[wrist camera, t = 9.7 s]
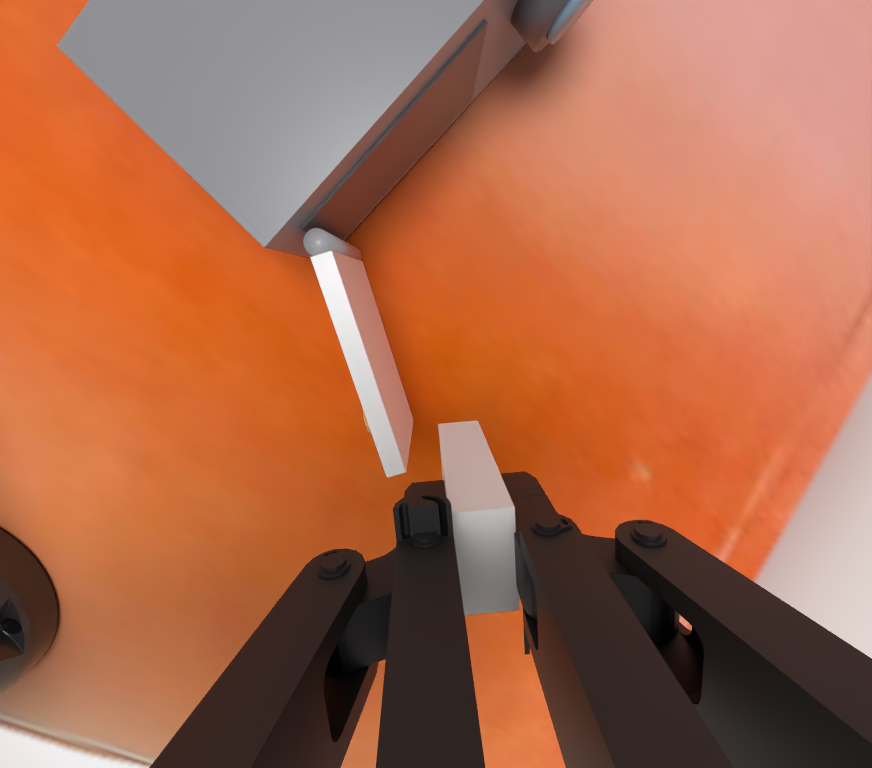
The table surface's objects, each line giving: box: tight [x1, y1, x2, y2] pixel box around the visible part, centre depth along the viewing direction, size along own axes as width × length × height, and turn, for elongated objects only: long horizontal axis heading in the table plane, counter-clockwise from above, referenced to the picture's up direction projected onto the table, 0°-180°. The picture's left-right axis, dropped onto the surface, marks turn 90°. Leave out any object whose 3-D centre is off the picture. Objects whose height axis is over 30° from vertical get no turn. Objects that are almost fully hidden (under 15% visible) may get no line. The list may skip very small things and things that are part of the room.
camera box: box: [57, 0, 593, 258], centre depth 20 cm, size 20×12×11 cm, turn 135°
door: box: [303, 228, 414, 478], centre depth 24 cm, size 12×2×8 cm, turn 17°
